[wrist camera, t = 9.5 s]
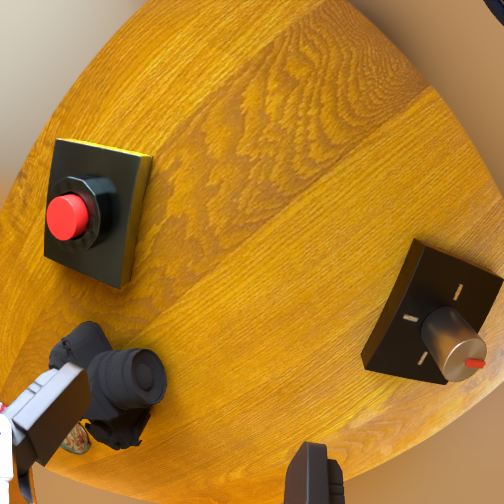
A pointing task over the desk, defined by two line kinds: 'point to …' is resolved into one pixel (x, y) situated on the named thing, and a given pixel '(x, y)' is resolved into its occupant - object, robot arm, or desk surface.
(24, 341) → the desk surface
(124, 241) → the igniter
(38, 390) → the robot arm
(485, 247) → the desk surface
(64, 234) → the button
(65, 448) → the seashell
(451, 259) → the hob panel
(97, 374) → the film camera
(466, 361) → the hob knob
